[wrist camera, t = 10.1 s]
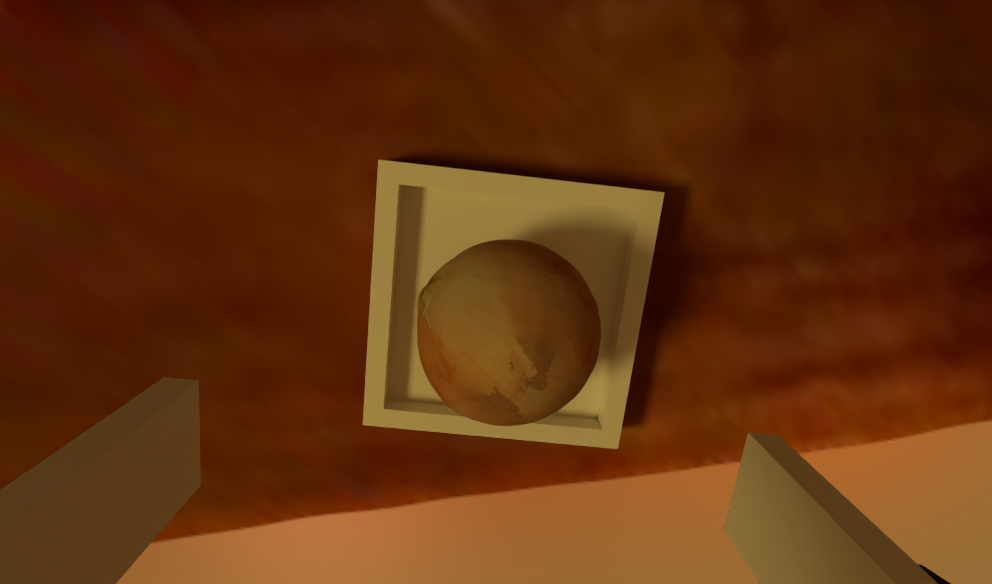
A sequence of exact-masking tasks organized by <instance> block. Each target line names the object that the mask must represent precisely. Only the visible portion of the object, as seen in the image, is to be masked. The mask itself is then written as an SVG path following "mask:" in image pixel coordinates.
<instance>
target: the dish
mask: <svg viewBox="0 0 992 584" xmlns="http://www.w3.org/2000/svg"><path fill="white" fill-rule="evenodd" d="M664 193H665V192H658V191H652V190H644V189H635V188H626V187H617V186H609V185H600V184H591V183H583V182H574V181H565V180H556V179H548V178H539V177H530V176H522V175H513V174H504V173H495V172H487V171H478V170H469V169H460V168H452V167H443V166H434V165H426V164H417V163H408V162H399V161H391V160H378V175H377V192H376V209H375V226H374V243H373V260H372V277H371V294H370V311H369V328H368V345H367V362H366V379H365V396H364V413H363V425H368V426H379V427H389V428H400V429H411V430H421V431H432V432H443V433H453V434H464V435H475V436H485V437H496V438H507V439H517V440H528V441H539V442H549V443H560V444H571V445H581V446H592V447H603V448H613V449H618V445H619V439H620V434H621V428H622V423H623V417H624V412H625V406H626V401H627V396H628V390H629V385H630V379H631V374H632V368H633V363H634V357H635V352H636V346H637V341H638V335H639V330H640V324H641V319H642V313H643V308H644V303H645V297H646V292H647V286H648V281H649V275H650V270H651V264H652V259H653V253H654V248H655V242H656V237H657V231H658V226H659V220H660V215H661V210H662V204H663V199H664ZM503 239H514V240H525V241H530V242H534V243H537V244H540V245H542V246H545V247H547V248H549V249H550V250H552V251H554V252H555V253H557V254H559V255H560V256H562V257H563V258H564V259H566V260H567V261H568V262H569V263H570V264H572V265H573V266H574V267H575V268H576V269H577V270H578V272H579V273H580V274H581V275H582V277H583V278H584V280H585V281H586V283H587V285H588V287H589V288H590V290H591V293H592V295H593V296H594V298H595V300H596V303H597V306H598V311H599V318H600V322H601V343H600V348H599V353H598V359H597V362H596V365H595V367H594V370H593V371H592V373H591V375H590V377H589V379H588V380H587V382H586V384H585V385H584V387H583V388H582V390H581V391H580V392H579V394H578V395H577V396H576V397H575V398H574V399H573V400H571V401H570V402H569V403H568V404H567V405H565V406H564V407H562V408H561V409H560V410H558V411H557V412H555V413H553V414H551V415H550V416H548V417H546V418H544V419H541V420H538V421H535V422H532V423H529V424H524V425H516V426H495V425H489V424H485V423H482V422H478V421H474V420H472V419H469V418H467V417H465V416H463V415H461V414H459V413H457V412H456V411H454V410H453V409H451V408H450V407H449V406H448V405H447V404H446V403H445V402H444V401H443V400H442V399H441V398H440V397H439V396H438V394H437V393H436V391H435V390H434V388H433V387H432V386H431V384H430V383H429V381H428V379H427V377H426V375H425V372H424V370H423V367H422V364H421V361H420V357H419V352H418V346H417V316H418V311H417V302H418V297H419V294H420V292H421V290H422V288H423V287H425V286H426V285H427V284H428V282H429V280H430V278H431V277H432V276H433V275H434V274H435V273H436V272H437V271H438V270H439V269H440V268H441V267H442V266H443V265H444V264H446V263H447V262H449V261H450V260H451V259H453V258H454V257H456V256H457V255H458V254H459V253H461V252H462V251H464V250H466V249H468V248H470V247H472V246H474V245H477V244H480V243H484V242H488V241H493V240H503Z"/></svg>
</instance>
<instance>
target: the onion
mask: <svg viewBox="0 0 992 584" xmlns="http://www.w3.org/2000/svg"><path fill="white" fill-rule="evenodd" d="M417 311H418V316H417V346H418V352H419V357H420V361H421V364H422V367H423V370H424V372H425V375H426V377H427V379H428V381H429V383H430V384H431V386H432V387H433V388H434V390H435V391H436V393H437V394H438V396H439V397H440V398H441V399H442V400H443V401H444V402H445V403H446V404H447V405H448V406H449V407H450V408H451V409H453V410H454V411H456V412H457V413H459V414H461V415H463V416H465V417H467V418H469V419H472V420H474V421H478V422H482V423H485V424H489V425H495V426H516V425H524V424H529V423H532V422H535V421H538V420H541V419H544V418H546V417H548V416H550V415H551V414H553V413H555V412H557V411H558V410H560V409H561V408H562V407H564V406H565V405H567V404H568V403H569V402H570V401H571V400H573V399H574V398H575V397H576V396H577V395H578V394H579V392H580V391H581V390H582V388H583V387H584V385H585V384H586V382H587V380H588V379H589V377H590V375H591V373H592V371H593V370H594V367H595V365H596V362H597V359H598V353H599V348H600V343H601V322H600V318H599V311H598V306H597V303H596V300H595V298H594V296H593V295H592V293H591V290H590V288H589V287H588V285H587V283H586V281H585V280H584V278H583V277H582V275H581V274H580V273H579V272H578V270H577V269H576V268H575V267H574V266H573V265H572V264H570V263H569V262H568V261H567V260H566V259H564V258H563V257H562V256H560V255H559V254H557V253H555V252H554V251H552V250H550V249H549V248H547V247H545V246H542V245H540V244H537V243H534V242H530V241H525V240H514V239H503V240H493V241H488V242H484V243H480V244H477V245H474V246H472V247H470V248H468V249H466V250H464V251H462V252H461V253H459V254H458V255H457V256H456V257H454V258H453V259H451V260H450V261H449V262H447V263H446V264H444V265H443V266H442V267H441V268H440V269H439V270H438V271H437V272H436V273H435V274H434V275H433V276H432V277H431V278H430V280H429V282H428V284H427V285H426V286H425V287H423V288H422V290H421V292H420V294H419V297H418V302H417Z"/></svg>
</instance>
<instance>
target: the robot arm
mask: <svg viewBox="0 0 992 584" xmlns="http://www.w3.org/2000/svg"><path fill="white" fill-rule="evenodd" d="M200 485H201V483H200V428H199V380H190V379H180V378H169V377H164V378H162V379H161V380H160V381H158V382H157V383H155V384H154V385H152V386H151V387H149V388H148V389H147V390H145V391H144V392H142V393H141V394H139V395H138V396H136V397H135V398H133V399H132V400H131V401H129V402H128V403H126V404H125V405H123V406H122V407H120V408H119V409H117V410H116V411H115V412H113V413H112V414H110V415H109V416H107V417H106V418H104V419H103V420H101V421H100V422H99V423H97V424H96V425H94V426H93V427H91V428H90V429H88V430H87V431H85V432H84V433H83V434H81V435H80V436H78V437H77V438H75V439H74V440H72V441H71V442H69V443H68V444H67V445H65V446H64V447H62V448H61V449H59V450H58V451H56V452H55V453H54V454H52V455H51V456H49V457H48V458H46V459H45V460H43V461H42V462H40V463H39V464H38V465H36V466H35V467H33V468H32V469H30V470H29V471H27V472H26V473H24V474H23V475H22V476H20V477H19V478H17V479H16V480H14V481H13V482H11V483H10V484H8V485H7V486H6V487H4V488H3V489H1V490H0V584H116V583H117V582H118V580H119V579H120V578H121V577H122V576H123V575H124V573H125V572H126V571H127V570H128V569H129V568H130V567H131V565H132V564H133V563H134V562H135V561H136V559H137V558H138V557H139V556H140V555H141V554H142V552H143V551H144V550H145V549H146V548H147V547H148V546H149V544H150V543H151V542H152V541H153V540H154V539H155V537H156V536H157V535H158V534H159V533H160V532H161V531H162V529H163V528H164V527H165V526H166V525H167V524H168V522H169V521H170V520H171V519H172V518H173V517H174V515H175V514H176V513H177V512H178V511H179V510H180V508H181V507H182V506H183V505H184V504H185V503H186V501H187V500H188V499H189V498H190V497H191V496H192V494H193V493H194V492H195V491H196V490H197V489H198V488H199V486H200ZM724 531H725V532H726V534H727V535H728V537H729V538H730V540H731V541H732V543H733V544H734V546H735V547H736V549H737V550H738V552H739V553H740V555H741V557H742V558H743V560H744V561H745V563H746V564H747V566H748V567H749V569H750V570H751V572H752V573H753V575H754V576H755V578H756V579H757V581H758V582H759V584H950V583H949V582H947V581H946V580H944V579H942V578H941V577H939V576H938V575H936V574H935V573H933V572H932V571H930V570H929V569H927V568H926V567H924V566H922V565H918V564H916V563H915V562H914V561H913V560H912V559H911V558H910V557H909V556H908V555H907V554H906V553H905V552H904V551H903V550H901V549H900V548H899V547H898V546H897V545H896V544H895V543H894V542H893V541H892V540H891V539H889V538H888V537H887V536H886V535H885V534H884V533H883V532H882V531H881V530H880V529H879V528H878V527H877V526H876V525H875V524H873V523H872V522H871V521H870V520H869V519H868V518H867V517H866V516H865V515H864V514H863V513H861V512H860V511H859V510H858V509H857V508H856V507H855V506H854V505H853V504H852V503H851V502H850V501H849V500H848V499H846V498H845V497H844V496H843V495H842V494H841V493H840V492H839V491H838V490H837V489H836V488H835V487H833V486H832V485H831V484H830V483H829V482H828V481H827V480H826V479H825V478H824V477H823V476H822V475H821V474H819V473H818V472H817V471H816V470H815V469H814V468H813V467H812V466H811V465H810V464H809V463H808V462H807V461H806V460H804V459H803V458H802V457H801V456H800V455H799V454H798V453H797V452H796V451H795V450H794V449H793V448H792V447H790V446H789V445H788V444H787V443H786V442H785V441H784V440H783V439H782V438H781V437H780V436H779V435H769V434H759V433H748V435H747V439H746V443H745V447H744V451H743V455H742V459H741V463H740V467H739V471H738V475H737V479H736V483H735V487H734V491H733V495H732V498H731V502H730V506H729V510H728V514H727V518H726V522H725V526H724Z"/></svg>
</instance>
